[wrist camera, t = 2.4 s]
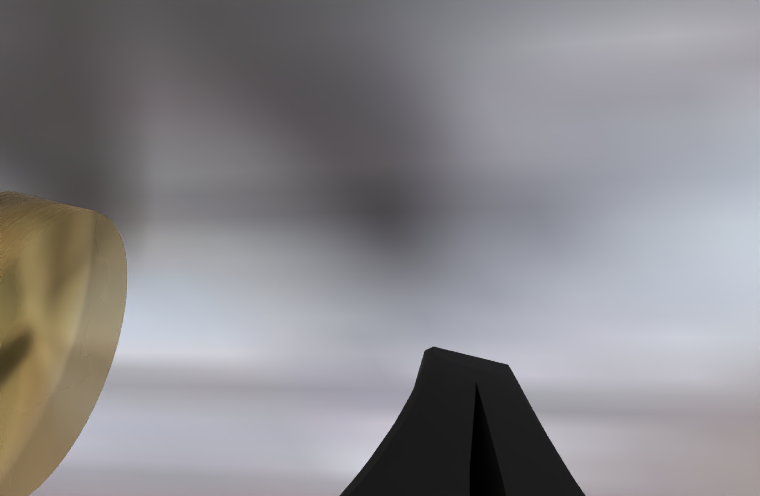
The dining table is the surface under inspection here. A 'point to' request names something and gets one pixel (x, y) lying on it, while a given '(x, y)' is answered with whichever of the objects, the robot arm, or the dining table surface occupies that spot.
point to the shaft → (53, 330)
